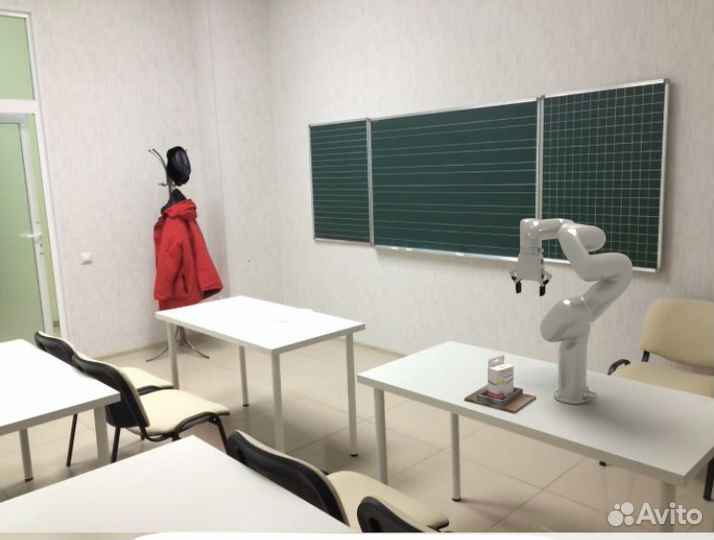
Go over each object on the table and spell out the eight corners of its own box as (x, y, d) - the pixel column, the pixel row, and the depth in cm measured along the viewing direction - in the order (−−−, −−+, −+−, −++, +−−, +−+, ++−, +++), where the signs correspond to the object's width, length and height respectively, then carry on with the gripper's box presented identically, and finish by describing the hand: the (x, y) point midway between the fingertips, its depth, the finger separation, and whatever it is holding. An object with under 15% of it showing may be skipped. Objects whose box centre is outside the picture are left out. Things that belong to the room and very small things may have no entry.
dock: (535, 398, 221) (535, 390, 220) (514, 413, 209) (514, 405, 209) (486, 387, 234) (486, 379, 234) (464, 400, 222) (464, 392, 222)
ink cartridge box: (497, 402, 217) (497, 362, 214) (487, 398, 221) (486, 359, 218) (514, 396, 221) (514, 357, 219) (504, 392, 226) (503, 354, 223)
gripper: (556, 250, 231) (555, 294, 234) (514, 248, 243) (514, 290, 246) (547, 253, 226) (547, 298, 229) (505, 250, 237) (505, 293, 240)
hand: (530, 294), depth 237 cm, fingers open, 9 cm apart
